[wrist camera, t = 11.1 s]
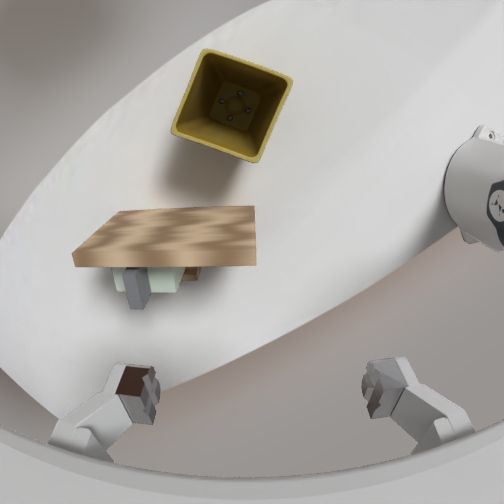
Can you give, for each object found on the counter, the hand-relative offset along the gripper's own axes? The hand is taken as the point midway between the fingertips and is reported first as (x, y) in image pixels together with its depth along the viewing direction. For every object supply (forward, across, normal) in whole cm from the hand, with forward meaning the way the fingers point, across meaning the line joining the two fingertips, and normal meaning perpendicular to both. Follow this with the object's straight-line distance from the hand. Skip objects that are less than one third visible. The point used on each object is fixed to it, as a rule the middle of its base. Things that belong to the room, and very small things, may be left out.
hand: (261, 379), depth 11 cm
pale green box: (+25, +12, +6) cm, 28 cm away
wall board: (+29, +9, +6) cm, 31 cm away
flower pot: (+29, +2, -10) cm, 31 cm away
